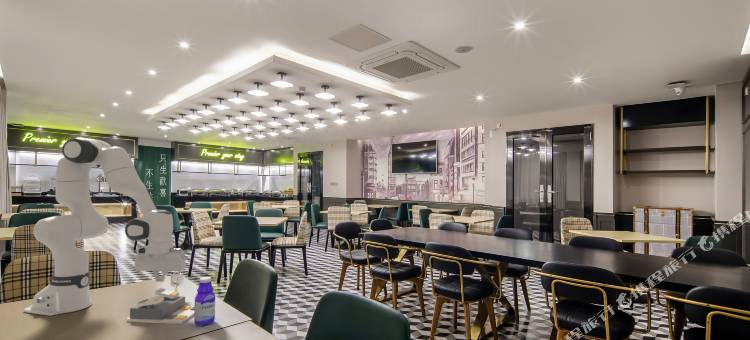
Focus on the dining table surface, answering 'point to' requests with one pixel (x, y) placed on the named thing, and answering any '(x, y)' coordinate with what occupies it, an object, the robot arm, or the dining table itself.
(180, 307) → the switch unit
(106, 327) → the dining table surface
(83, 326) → the dining table surface
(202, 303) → the bottle
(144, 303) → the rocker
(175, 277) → the wineglass
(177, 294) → the rocker
